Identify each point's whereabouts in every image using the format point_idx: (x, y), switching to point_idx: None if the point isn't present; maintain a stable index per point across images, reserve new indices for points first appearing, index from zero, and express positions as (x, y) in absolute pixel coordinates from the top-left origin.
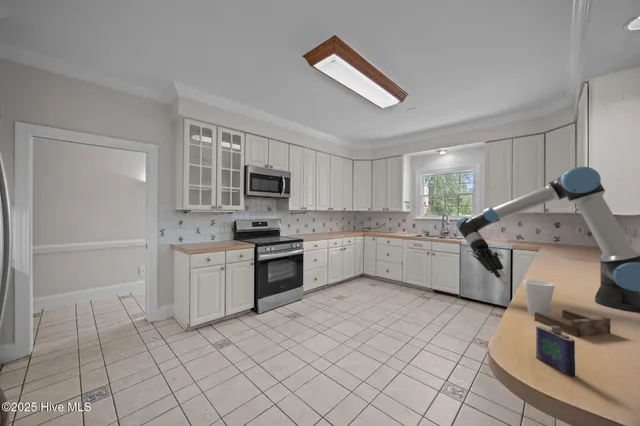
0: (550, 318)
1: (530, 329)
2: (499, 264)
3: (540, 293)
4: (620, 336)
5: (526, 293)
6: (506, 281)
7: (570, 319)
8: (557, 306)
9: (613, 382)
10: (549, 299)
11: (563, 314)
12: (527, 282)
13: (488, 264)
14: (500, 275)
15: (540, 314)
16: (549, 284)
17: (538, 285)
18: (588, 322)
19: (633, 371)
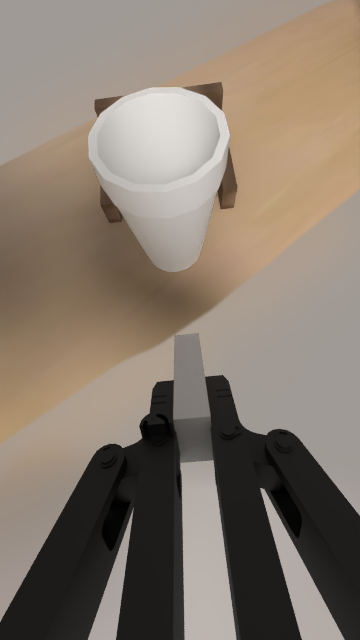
0: (229, 150)
1: (302, 159)
2: (102, 513)
3: (196, 143)
4: None
5: (213, 202)
6: (194, 334)
7: None
8: (12, 312)
9: (321, 20)
10: (161, 163)
11: (118, 209)
12: (226, 134)
13: (323, 492)
14: (205, 378)
15: (232, 173)
16: (105, 133)
17: (206, 102)
18: None
19: (252, 39)
